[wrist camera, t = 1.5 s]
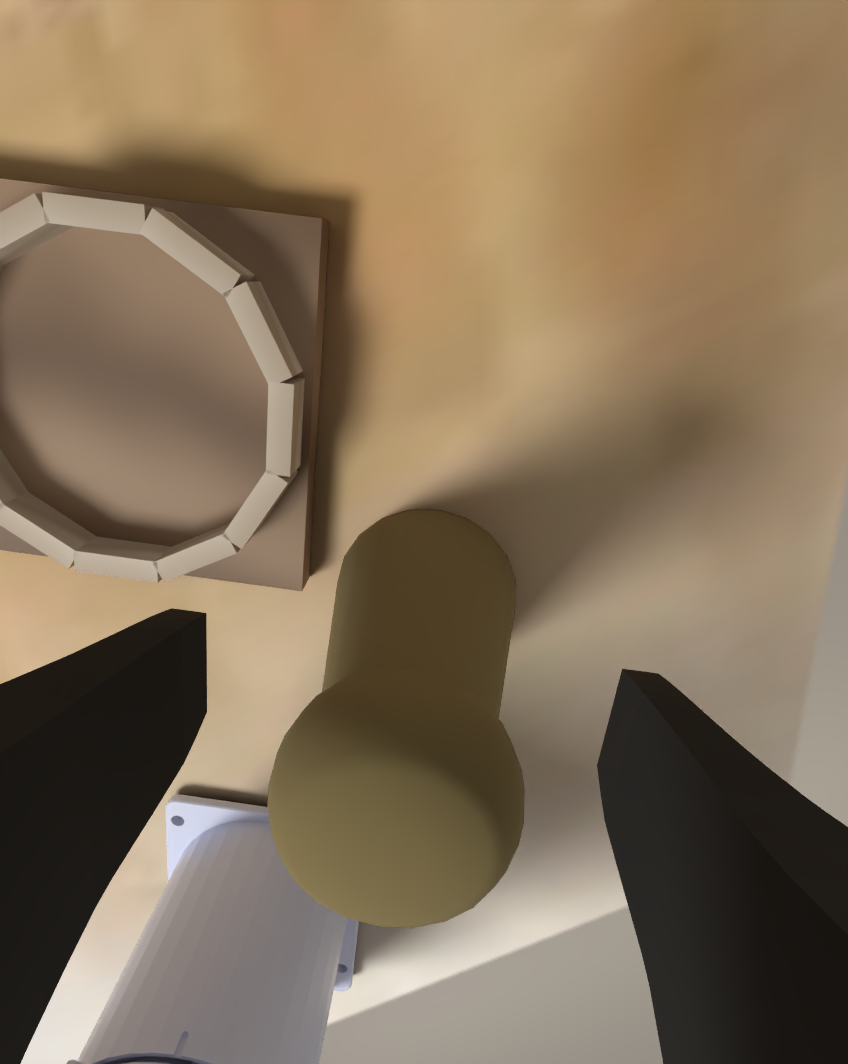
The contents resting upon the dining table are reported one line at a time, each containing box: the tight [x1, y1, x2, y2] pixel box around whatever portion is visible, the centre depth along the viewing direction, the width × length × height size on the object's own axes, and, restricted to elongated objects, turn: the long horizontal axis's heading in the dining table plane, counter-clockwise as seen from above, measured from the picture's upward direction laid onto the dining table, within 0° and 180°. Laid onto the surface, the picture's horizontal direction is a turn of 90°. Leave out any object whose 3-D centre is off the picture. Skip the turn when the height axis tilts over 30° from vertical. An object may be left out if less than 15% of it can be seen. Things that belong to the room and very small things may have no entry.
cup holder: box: [0, 178, 330, 591], centre depth 19 cm, size 11×11×2 cm
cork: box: [267, 510, 524, 928], centre depth 17 cm, size 6×6×11 cm
